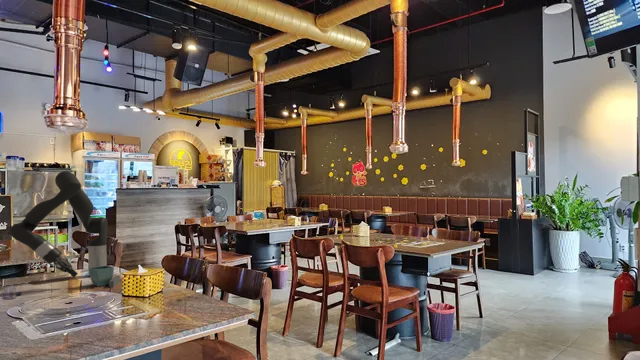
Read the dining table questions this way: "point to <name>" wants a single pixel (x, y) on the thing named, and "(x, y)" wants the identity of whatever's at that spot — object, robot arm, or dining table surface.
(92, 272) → the flower pot
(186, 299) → the dining table surface
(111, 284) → the bumper bar
